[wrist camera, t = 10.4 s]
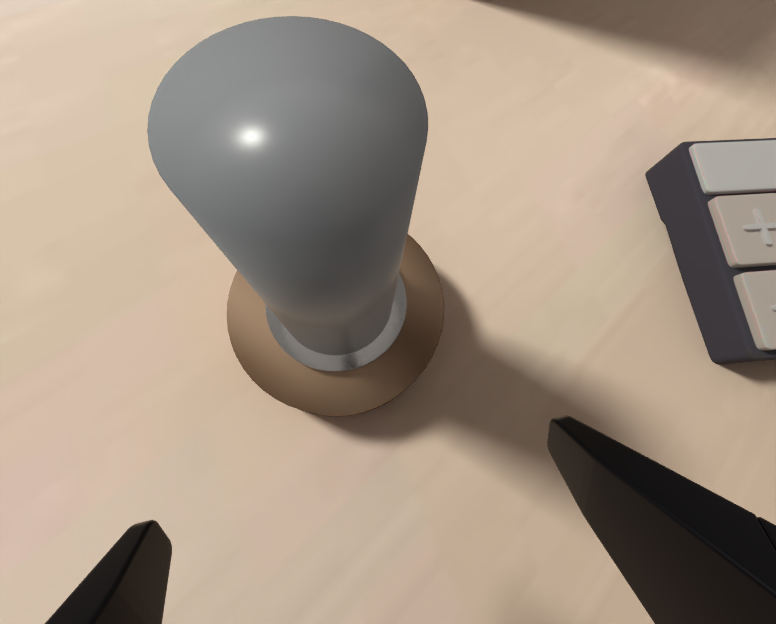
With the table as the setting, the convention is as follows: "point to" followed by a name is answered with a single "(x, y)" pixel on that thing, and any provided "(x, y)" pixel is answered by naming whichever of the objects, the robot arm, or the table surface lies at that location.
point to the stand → (351, 387)
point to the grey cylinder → (300, 175)
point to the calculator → (724, 240)
